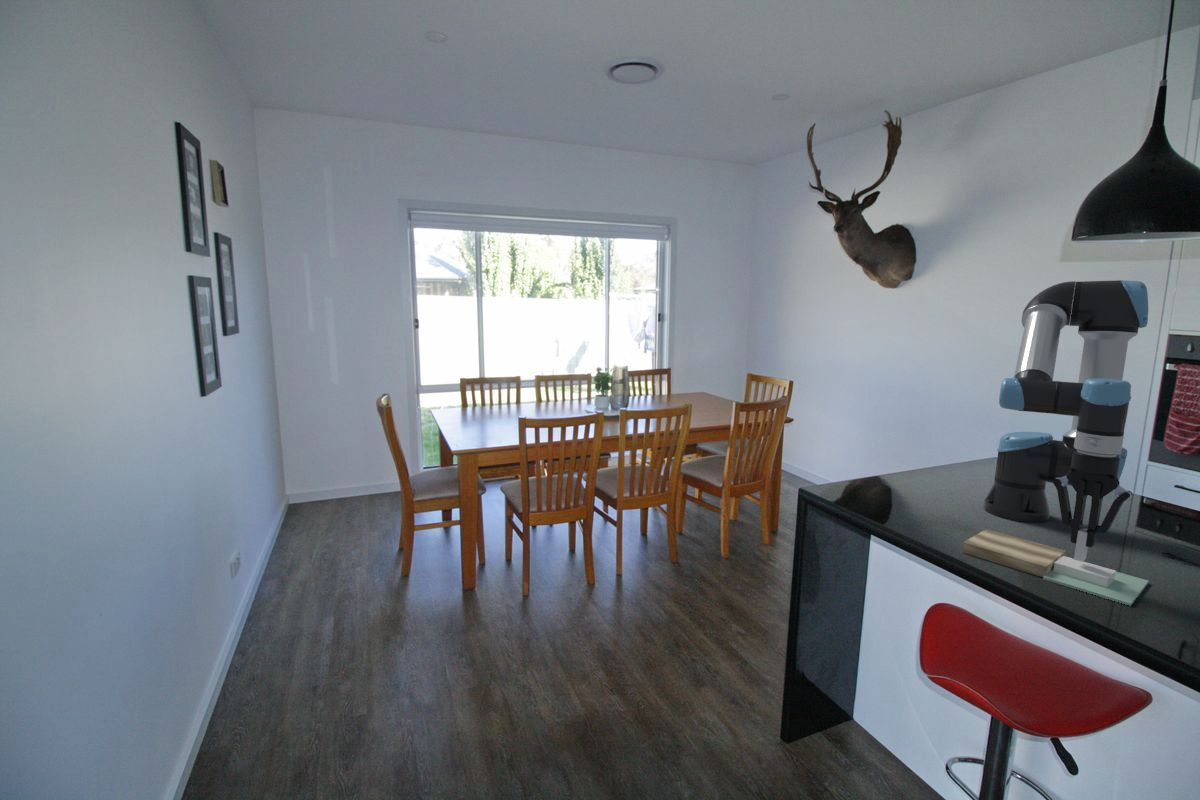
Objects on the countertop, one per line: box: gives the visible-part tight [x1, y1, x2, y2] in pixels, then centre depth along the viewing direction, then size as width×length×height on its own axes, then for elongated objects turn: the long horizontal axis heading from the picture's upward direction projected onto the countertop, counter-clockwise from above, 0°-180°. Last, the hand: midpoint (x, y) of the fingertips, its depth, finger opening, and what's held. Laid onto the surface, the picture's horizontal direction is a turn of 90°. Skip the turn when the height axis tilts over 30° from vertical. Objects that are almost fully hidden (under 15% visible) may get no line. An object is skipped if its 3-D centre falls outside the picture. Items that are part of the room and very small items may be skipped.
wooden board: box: [961, 528, 1067, 578], centre depth 132 cm, size 14×16×2 cm
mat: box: [1042, 568, 1149, 607], centre depth 121 cm, size 16×14×1 cm
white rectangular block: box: [1053, 555, 1117, 587], centre depth 122 cm, size 9×6×2 cm, turn 37°
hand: (1079, 558), depth 123 cm, fingers closed
